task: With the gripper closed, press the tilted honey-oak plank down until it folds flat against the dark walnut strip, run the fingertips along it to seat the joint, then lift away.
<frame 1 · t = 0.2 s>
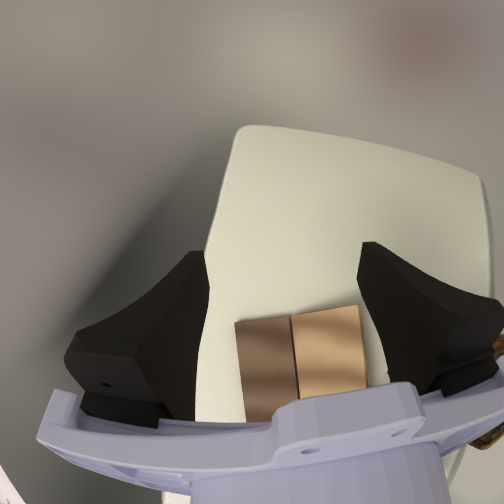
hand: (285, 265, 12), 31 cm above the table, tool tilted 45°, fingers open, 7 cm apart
book: (427, 365, 37), on the table
walnut strip: (269, 382, 39), on the table
oak plank: (332, 378, 35), point 4 cm above the table, hinge at 30.0°
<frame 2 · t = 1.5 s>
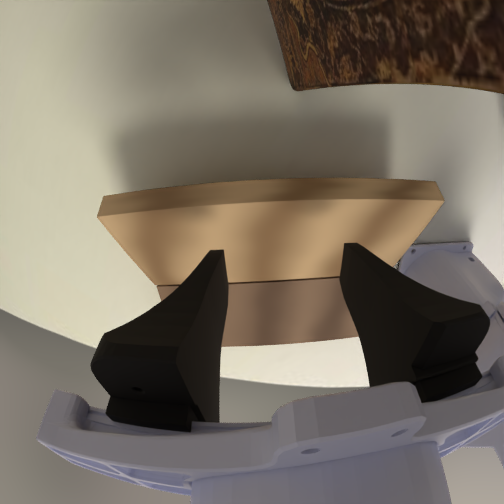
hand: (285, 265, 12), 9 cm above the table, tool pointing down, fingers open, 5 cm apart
walnut strip: (273, 305, 26), on the table
oak plank: (275, 240, 18), point 4 cm above the table, hinge at 30.0°
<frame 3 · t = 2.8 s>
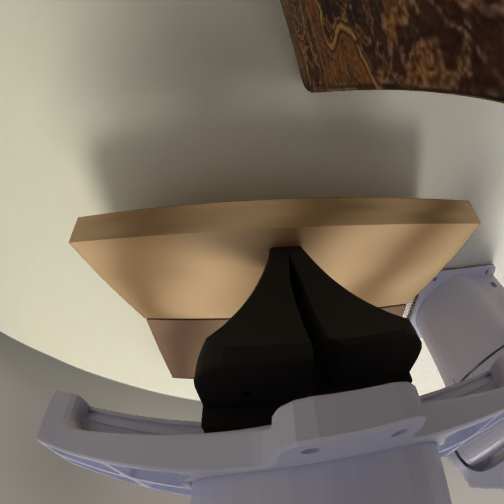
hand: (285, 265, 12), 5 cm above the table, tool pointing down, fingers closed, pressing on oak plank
walnut strip: (278, 337, 23), on the table
oak plank: (283, 272, 15), point 3 cm above the table, hinge at 26.2°, touching gripper
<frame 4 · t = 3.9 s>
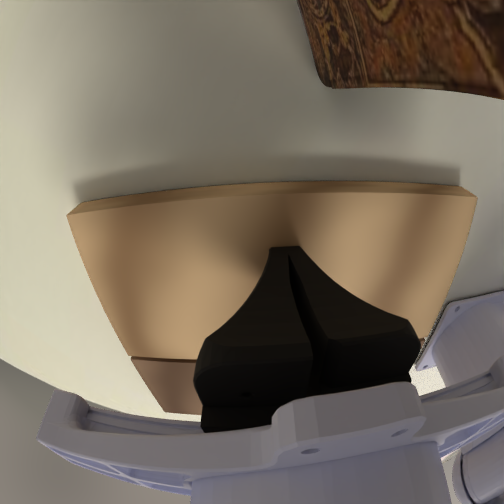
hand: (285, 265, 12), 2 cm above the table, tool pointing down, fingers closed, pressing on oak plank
walnut strip: (281, 374, 19), on the table
oak plank: (284, 284, 14), point 1 cm above the table, hinge at 0.2°, touching gripper
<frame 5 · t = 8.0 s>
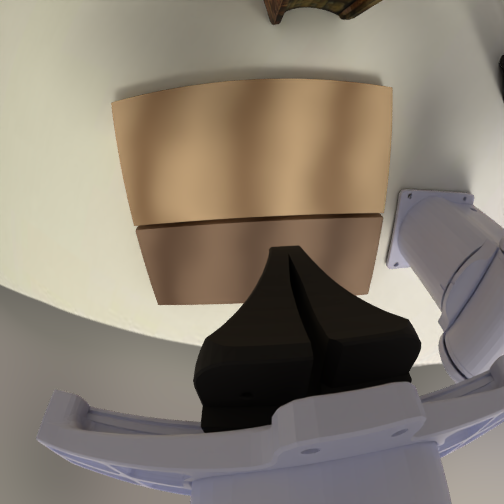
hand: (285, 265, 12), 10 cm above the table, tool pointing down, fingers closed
walnut strip: (261, 255, 24), on the table
oak plank: (255, 148, 19), point 1 cm above the table, hinge at -0.4°
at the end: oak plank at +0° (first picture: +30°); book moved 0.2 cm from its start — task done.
